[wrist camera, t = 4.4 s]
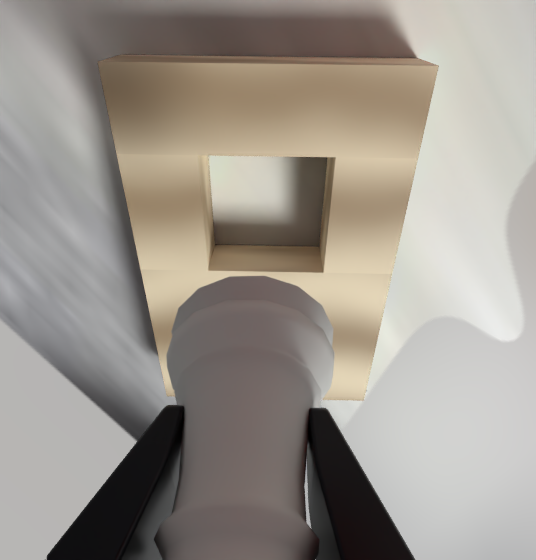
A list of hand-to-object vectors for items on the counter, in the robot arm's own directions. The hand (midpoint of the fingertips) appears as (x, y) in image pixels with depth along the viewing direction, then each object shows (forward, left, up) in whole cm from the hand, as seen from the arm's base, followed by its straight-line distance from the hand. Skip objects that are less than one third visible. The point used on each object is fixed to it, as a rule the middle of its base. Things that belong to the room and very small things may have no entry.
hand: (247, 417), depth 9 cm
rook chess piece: (0, 0, -3) cm, 3 cm away
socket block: (-3, 0, -13) cm, 13 cm away
